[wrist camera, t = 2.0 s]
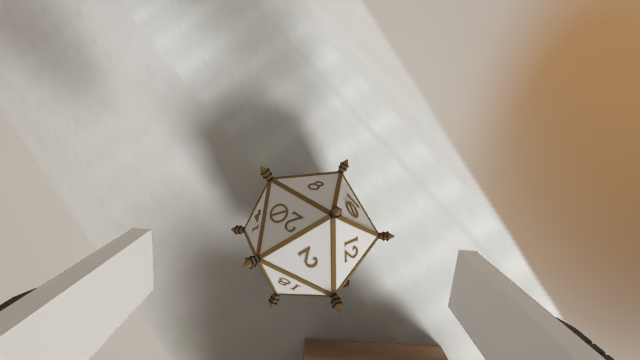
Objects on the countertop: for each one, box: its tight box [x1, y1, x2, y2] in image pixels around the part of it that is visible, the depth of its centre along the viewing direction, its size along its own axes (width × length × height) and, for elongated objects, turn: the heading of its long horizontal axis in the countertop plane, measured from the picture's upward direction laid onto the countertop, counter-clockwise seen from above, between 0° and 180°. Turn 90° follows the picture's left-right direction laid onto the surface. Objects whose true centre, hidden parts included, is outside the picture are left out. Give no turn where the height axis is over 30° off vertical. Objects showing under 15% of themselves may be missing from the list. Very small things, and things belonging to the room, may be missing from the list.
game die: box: [231, 159, 394, 313], centre depth 18 cm, size 9×8×10 cm
